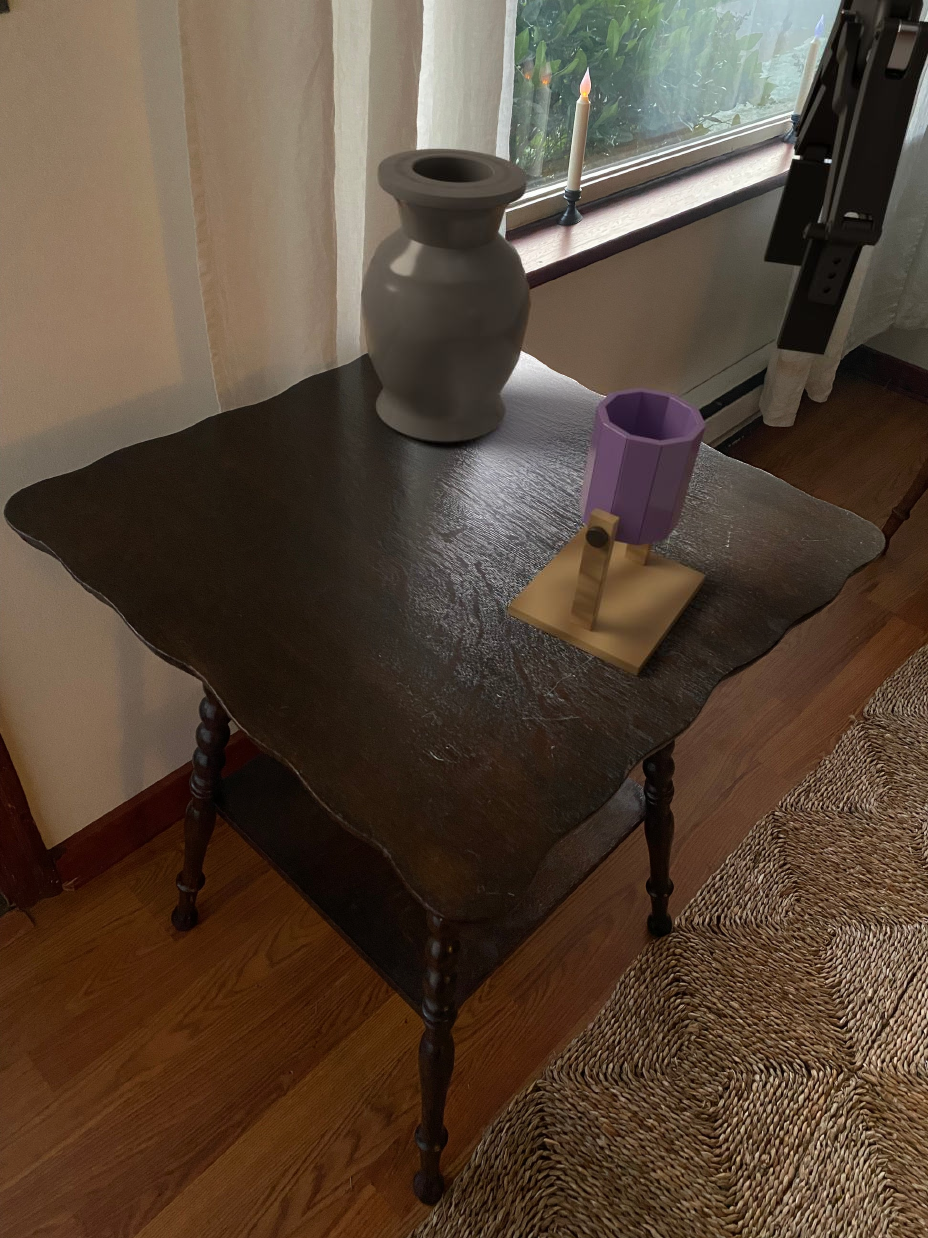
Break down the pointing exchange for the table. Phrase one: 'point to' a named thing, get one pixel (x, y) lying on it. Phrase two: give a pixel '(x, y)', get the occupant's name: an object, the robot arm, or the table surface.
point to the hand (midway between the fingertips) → (790, 302)
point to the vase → (446, 295)
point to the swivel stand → (608, 595)
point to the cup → (641, 462)
